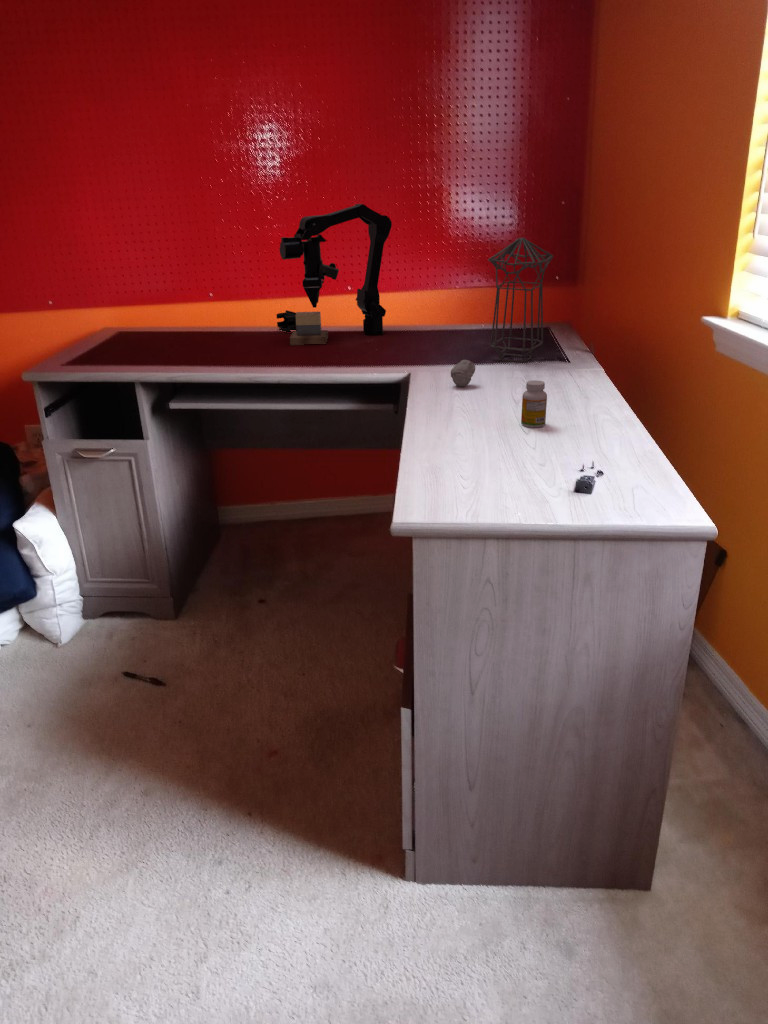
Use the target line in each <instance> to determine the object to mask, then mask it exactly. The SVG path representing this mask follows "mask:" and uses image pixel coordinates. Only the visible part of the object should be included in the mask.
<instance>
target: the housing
mask: <svg viewBox="0 0 768 1024" xmlns="http://www.w3.org/2000/svg"><path fill="white" fill-rule="evenodd" d="M295 313H296V331H297V336H306V335H321V330H322V320H321V319H322V315H321V311H296V312H295Z"/></svg>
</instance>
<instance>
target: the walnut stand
mask: <svg viewBox="0 0 768 1024" xmlns="http://www.w3.org/2000/svg"><path fill="white" fill-rule="evenodd" d="M327 339H329V330H328V329H326V330H322V329H321V335H306V336H297V331H293V332H292V334H290V336H289V346H305V345H304V344H326V345H327V343H326V342H328V340H327Z"/></svg>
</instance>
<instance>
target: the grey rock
mask: <svg viewBox="0 0 768 1024" xmlns="http://www.w3.org/2000/svg"><path fill="white" fill-rule="evenodd" d="M475 371H476V365H475V363H474V362H472V361H470V360H468V359H462V360H460V361H459V362H458V363H456V364H455V365H454V366H453V367H452V368H451V370H450V377H451V379H452V382H453V383H454V385H455V386H457V387H462V388H463V387H464V388H465V387H466V386H468V385H469V384H470V382H471V381H472V377H474V374H475Z"/></svg>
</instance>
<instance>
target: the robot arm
mask: <svg viewBox="0 0 768 1024" xmlns="http://www.w3.org/2000/svg"><path fill="white" fill-rule="evenodd" d="M355 219H360V220H361V222H363V223H365V224H366V225H368V229H367V231H368V236H369V241H370V242H369V243H370V244H369V249H368V256H367V263H366V270H365V277H364V283H363V285H362V287H361V288H357V290H356V294H357V295H356V298H355V301H356V305H357V307H358V308H359V310H361V313H362V314H363V315H364V319H363V320H362V324H363V333H364V335H370V336H371V335H384V326H383V324H384V322H383V318H384V317H385V316H386V312H387V310H386V308H384V307H383V306H382V305H381V304H380V293H379V287H378V285H379V279H380V272H381V267H382V259H383V252H384V248H385V243H386V241H387V239H388V238H389V237H390V232H391V231H392V227H393V225H392V220H391V218H390V217H389V216H388V215H385V214H384V215H383V214H380V213H378V212H377V211H375V210H373V209H372V208H370V207H368V206H367V205H365V204H364V203H356V204H354V205H352V206H349V207H346V208H343V209H339V210H336V211H333V212H329V213H326V214H320V215H319V214H318V215H308V216H303V217H302V218H301V219H300V221H299V223H298V228H297V230H296V231H295V234H294V236H291V237H285V236H284V237H282V236H281V238H280V240H281V241H280V243H279V255H280V258H281V259H282V260H295V259H301V257H302V256H303V267H304V275H303V277H304V278H303V280H302V288H303V290H304V291H305V294H306V296H307V298H308V300H309V301H310V304H311V306H312V308H313V309H314V308H317V306H318V303H319V299H320V291H321V289H322V288H323V284H324V282H325V280H326V277H328V278H331V279H332V280H335V281H336V280H337V278H338V274H339V271H340V269H339V268H338V267H337V266H336V263H333V262H330V264H324V263H323V261H324V260H323V259H322V253H321V243H326V242H327V239H326V238H325V237H323V236H322V234H321V233H324V232H326V230H328V229H329V228H331V227H333V226H336V225H340V224H344V223H347V222H348V221H349V222H350V221H352V220H355Z"/></svg>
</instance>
